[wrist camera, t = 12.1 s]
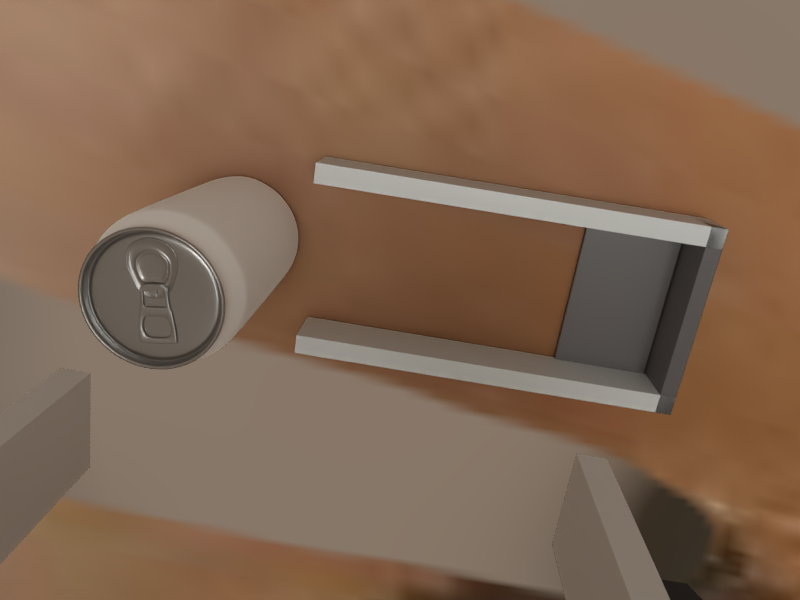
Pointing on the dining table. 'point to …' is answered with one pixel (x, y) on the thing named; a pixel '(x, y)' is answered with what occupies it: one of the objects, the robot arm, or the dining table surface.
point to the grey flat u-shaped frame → (587, 304)
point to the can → (187, 271)
